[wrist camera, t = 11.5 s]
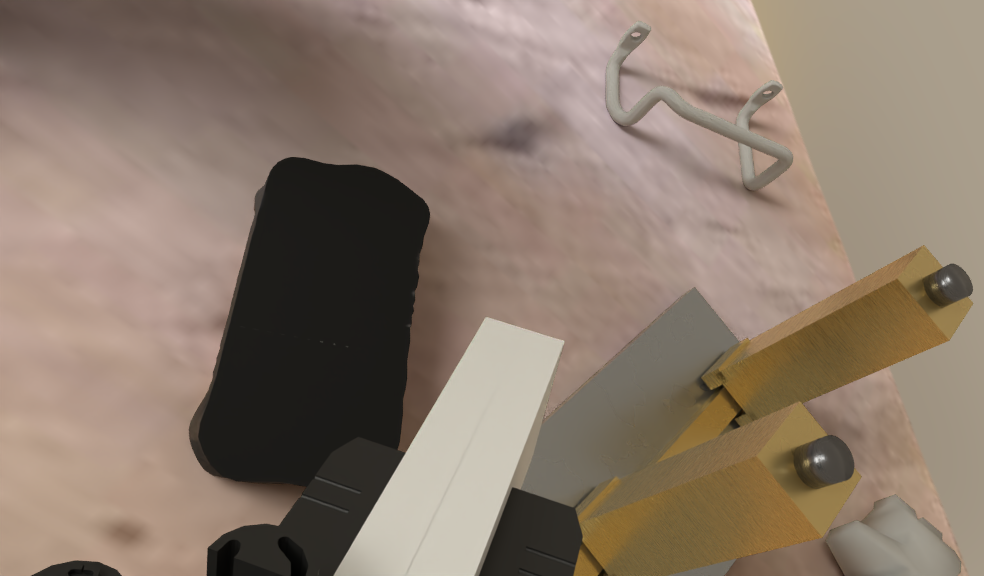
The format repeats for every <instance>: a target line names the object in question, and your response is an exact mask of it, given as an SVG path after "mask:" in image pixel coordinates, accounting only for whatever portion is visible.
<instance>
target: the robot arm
mask: <svg viewBox="0 0 984 576" xmlns="http://www.w3.org/2000/svg"><path fill="white" fill-rule="evenodd" d="M564 342H565V341H563V340H560V339H556V338H553V337H550V336H547V335H543V334H540V333H537V332H534V331H530V330H527V329H524V328H521V327H518V326H514V325H511V324H508V323H505V322H501V321H498V320H495V319H492V318H488V317H486V318H485V319H484V321H483V323H482V324H481V326H480V328H479V330H478V331H477V333H476V335H475V336H474V338H473V340H472V341H471V343H470V345H469V347H468V348H467V350H466V352H465V353H464V355H463V357H462V358H461V360H460V362H459V364H458V365H457V367H456V369H455V370H454V372H453V374H452V375H451V377H450V379H449V381H448V382H447V384H446V386H445V387H444V389H443V391H442V392H441V394H440V396H439V397H438V399H437V401H436V403H435V404H434V406H433V408H432V409H431V411H430V413H429V414H428V416H427V418H426V420H425V421H424V423H423V425H422V426H421V428H420V430H419V431H418V433H417V435H416V437H415V438H414V440H413V442H412V443H411V445H410V447H409V448H408V450H407V452H406V453H405V452H402V451H399V450H396V449H393V448H390V447H387V446H384V445H381V444H378V443H375V442H372V441H369V440H366V439H363V438H360V437H357V438H355V439H354V440H352V441H350V442H348V443H347V444H345V445H343V446H342V447H340V448H338V449H337V450H335V451H333V452H332V453H331V454H330V456H329V457H328V458H327V460H326V461H325V462H324V464H323V465H322V467H321V468H320V469H319V471H318V472H317V474H316V475H315V478H314V480H313V479H312V481H311V482H310V483H309V485H308V486H307V487H306V489H305V490H304V492H303V493H302V496H301V498H299V499H298V500H297V501H296V503H295V504H294V505H293V507H292V508H291V510H290V511H289V512H288V514H287V515H286V517H285V518H284V519H283V521H282V522H281V524H280V525H279V526H275V525H270V524H259V525H249V526H243V527H240V528H238V529H235V530H233V531H230V532H228V533H226V534H223V535H222V536H221V537H220V538H219V539H218V540H216V541H215V542H214V543H213V544H212V545H211V546H209V547H208V555H207V576H573V575H574V571H575V566H576V563H577V559H578V555H579V550H580V546H581V542H582V538H583V535H582V531H581V528H580V524H579V520H578V516H577V513H576V509H575V508H573V507H570V506H567V505H564V504H561V503H558V502H555V501H553V500H550V499H547V498H544V497H541V496H538V495H535V494H532V493H529V492H526V491H523V490H521V487H522V484H523V482H524V479H525V476H526V473H527V471H528V468H529V465H530V462H531V460H532V457H533V453H534V450H535V446H536V442H537V439H538V435H539V432H540V428H541V424H542V421H543V417H544V414H545V410H546V407H547V403H548V399H549V396H550V392H551V389H552V385H553V381H554V378H555V374H556V371H557V367H558V363H559V360H560V356H561V353H562V349H563V346H564ZM32 576H122V575H121V574H120V573H119V572H118V571H117V570H116V569H114V568H111V567H109V566H107V565H104V564H102V563H100V562H91V561H71V562H66V563H62V564H57V565H52V566H50V567H48V568H46V569H44V570H42V571H40V572H38V573H36V574H34V575H32Z"/></svg>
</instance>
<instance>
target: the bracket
mask: <svg viewBox="0 0 984 576" xmlns="http://www.w3.org/2000/svg"><path fill="white" fill-rule="evenodd" d="M650 31H651V27H650V26H649V25H647V24H645V23H643V22H641V21H637V22H636V23H635V24H634V25H633V26H631V27H630V28H629V29H628V30H627V32H626V33H625V34H624V35H623V37H622V38H621V40H620V42H619V44H618V47H617V49H616V50H615V52H614V53H613V55H612V56H611V58H610V60H609V62H608V64H607V68H606V91H605V95H606V107H607V109H608V111H609V113H610V115H611V117H612V119H613V120H614V121H615V122H616V123H618V124H620V125H622V126H630V125H633V124H635V123H637V122H638V121H639V120H641V119H642V118H643V117H644V116H645V115H646V114H647V113H648V112H649V111H650V109H651V108H652V107H653V106H654V105H656V104H657V103H658V102H659V101H660V100H662V101H664V102H665V103H666V104H667V105H668V106H669V107H670V108H671V109H672V110H673V111H674V112H675V113H677V114H678V115H679V116H681V117H683V118H684V119H686V120H688V121H690V122H693V123H695V124H697V125H700V126H702V127H704V128H707V129H709V130H711V131H714V132H716V133H718V134H720V135H723V136H725V137H727V138H730V139H732V140H734V141H737V142H738V146H739V155H740V164H741V172H742V179H743V183H744V186H745V187H746V188H747V189H749V190H759V189H761V188H763V187H765V186H766V185H768V184H769V183H771V182H772V181H773V180H775V179H776V178H777V177H779V176H780V175H781V174H782V173H784V172H785V171H786V170H787V169H788V168H789V167H790V166H791V165H792V162H793V154H792V152H791V151H790V150H789V149H788V148H786V147H784V146H782V145H780V144H778V143H776V142H773V141H771V140H769V139H766V138H764V137H762V136H760V135H757V134H755V133H753V132H751V131H749V126H748V123H749V120H750V118H751V116H752V115H753V114H754V113H755V112H756V111H757V110H758V109H759V108H760V107H761V106H762V105H764V104H765V103H766V102H768V101H769V100H771V99H772V98H774V97H775V96H776V95H777V94H778V93H779V92H780V91H781V90H782V89H783V87H782V85H781V84H780V83H779V82H777V81H774V80H771V81H769V82H767V83H766V84H764V85H763V86H761V87H760V88H759V89H758V90H757V91H755V92H754V93H753V95H752V96H751V97H750V99H749V100H748V102H747V103H746V105H745V106H744V107H743V108H742V109H741V111H740V112H739V114H738V116H737V120H736V125H735V124H732V123H730V122H728V121H726V120H724V119H722V118H718V117H717V116H715V115H712V114H710V113H708V112H705V111H703V110H701V109H698V108H695V107H693V106H692V105H690V104H689V103H687V102H685V101H684V100H683V99H682V98H681V97H680V96H679V95H678V93H677V92H675V91H674V90H673V89H671V88H669V87H666V86H658V87H656V88H654V89H652V90H651V91H650V92H649V93H648V94H646V95H645V96H644V97H643V98H642V99H641V100H640V101H639V102H638V103H637V104H636V105H635V106H634V107H633V108H632V109H631V110H630V111H629V112H625V111H624V110H623V109H622V107H621V105H620V102H619V69H620V67H621V65H622V63H623V62H624V60H625V59H626V57H627V56H628V55H629V54H630V53H631V52H632V51H633V50H634V49H635V48H637V47H638V46H639V45H640V44H641V43H642V42H643V41H644V40H645V39H646V37H647V36H648V34H649V33H650ZM635 32H639V33H641V35H640V36H638V37H633V36H632V35H631V34H632V33H635ZM769 90H770V91H772V92H771V93H770V94H763V93H764V92H765V91H769ZM752 148H753V149H755V150H758V151H760V152H763V153H765V154H767V155H770V156H772V157H775V158H777V159H779V160H778V161H777V162H775V163H774V164H773V165H772V166H770V167H769V168H768V169H766V170H765V171H764V172H762V173H761V174H760V175H758V176H757V177H755V173H754V165H753V156H752Z"/></svg>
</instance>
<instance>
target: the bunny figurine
mask: <svg viewBox="0 0 984 576" xmlns="http://www.w3.org/2000/svg"><path fill="white" fill-rule="evenodd" d="M826 542H827V544H828V546H829V548H830V550H831V552H832V553H833V555H834V557H835V559H836V561H837V563H838V564H839V566H840V568H841V570H842V572H843V573H844V576H958V575H959V574H960V572H961V561H960V559H959V558H958V556H957V554H956V553H955V551H954V550H953V549H952V548H950V547H949V546H948V545H947V544H946V543H944V542H943V541H942V533H941V532H940V531H939V530H938V529H936V528H935V527H934V526H933V525H932V524H930V523H929V522H928V521H927V520H926V519H924V518H920V519H917V516H916V513H915V510H914V509H912V508H911V507H910V506H909V505H908V504H906V503H905V502H904V501H903V500H902V499H901V498H899V497H898V496H897V495H896V494H895V495H892V496H889V497H887V498H884V499H882V500H879V501H876V502H874V508H873V510H872V511H871V512H870V513H869V514H868V515H867V516H866V517H865V519H864V520H863V521H862V522H860V521H858V520H856V521H853V522H850V523H848V524H845V525H842V526H840V527H837V528H834V529H832V530H830V532H829V534H828V537H827V539H826Z"/></svg>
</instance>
